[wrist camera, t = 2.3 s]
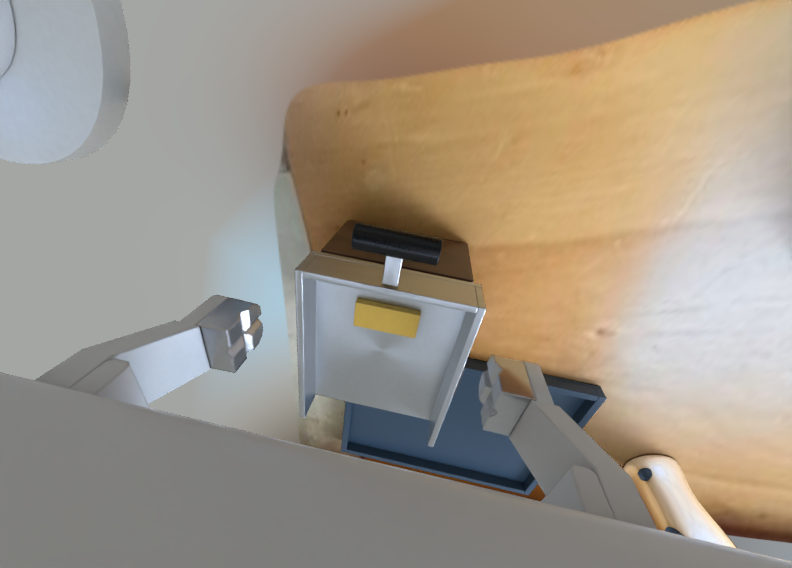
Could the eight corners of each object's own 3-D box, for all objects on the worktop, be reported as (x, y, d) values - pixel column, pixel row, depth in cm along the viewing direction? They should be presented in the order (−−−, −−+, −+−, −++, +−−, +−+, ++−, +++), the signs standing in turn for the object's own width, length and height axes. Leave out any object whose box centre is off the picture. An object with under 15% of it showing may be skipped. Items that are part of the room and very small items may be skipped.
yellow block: (354, 320, 23) (353, 325, 22) (357, 297, 22) (355, 302, 21) (415, 333, 23) (415, 339, 22) (421, 311, 22) (420, 316, 21)
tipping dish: (312, 389, 29) (297, 419, 26) (313, 199, 19) (289, 214, 16) (434, 416, 28) (433, 450, 25) (498, 235, 18) (508, 258, 16)
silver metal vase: (620, 452, 37) (711, 632, 24) (687, 451, 35) (823, 644, 23) (617, 482, 40) (696, 655, 28) (678, 482, 39) (794, 668, 26)
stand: (329, 311, 33) (300, 360, 26) (332, 216, 27) (297, 250, 20) (453, 337, 32) (455, 394, 25) (483, 246, 26) (495, 290, 20)
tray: (344, 441, 45) (340, 451, 43) (354, 333, 34) (351, 343, 32) (526, 483, 44) (528, 495, 42) (600, 386, 32) (607, 398, 31)
